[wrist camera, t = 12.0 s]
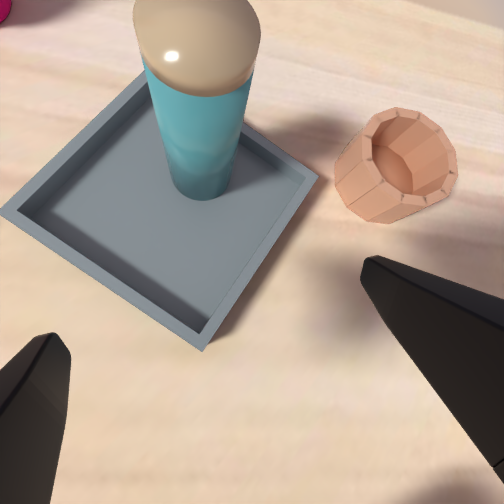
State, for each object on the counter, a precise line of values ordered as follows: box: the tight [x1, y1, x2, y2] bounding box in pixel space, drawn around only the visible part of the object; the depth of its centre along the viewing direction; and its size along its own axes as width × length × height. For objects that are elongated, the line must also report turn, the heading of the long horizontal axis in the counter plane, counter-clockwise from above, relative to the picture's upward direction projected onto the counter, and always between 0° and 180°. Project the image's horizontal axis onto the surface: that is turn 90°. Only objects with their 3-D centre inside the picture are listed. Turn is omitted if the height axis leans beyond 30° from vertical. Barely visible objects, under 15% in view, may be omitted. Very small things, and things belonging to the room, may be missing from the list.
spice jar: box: [133, 0, 261, 201], centre depth 16 cm, size 5×5×12 cm
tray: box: [0, 70, 319, 352], centre depth 21 cm, size 16×16×2 cm
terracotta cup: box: [335, 107, 458, 224], centre depth 24 cm, size 8×8×4 cm
